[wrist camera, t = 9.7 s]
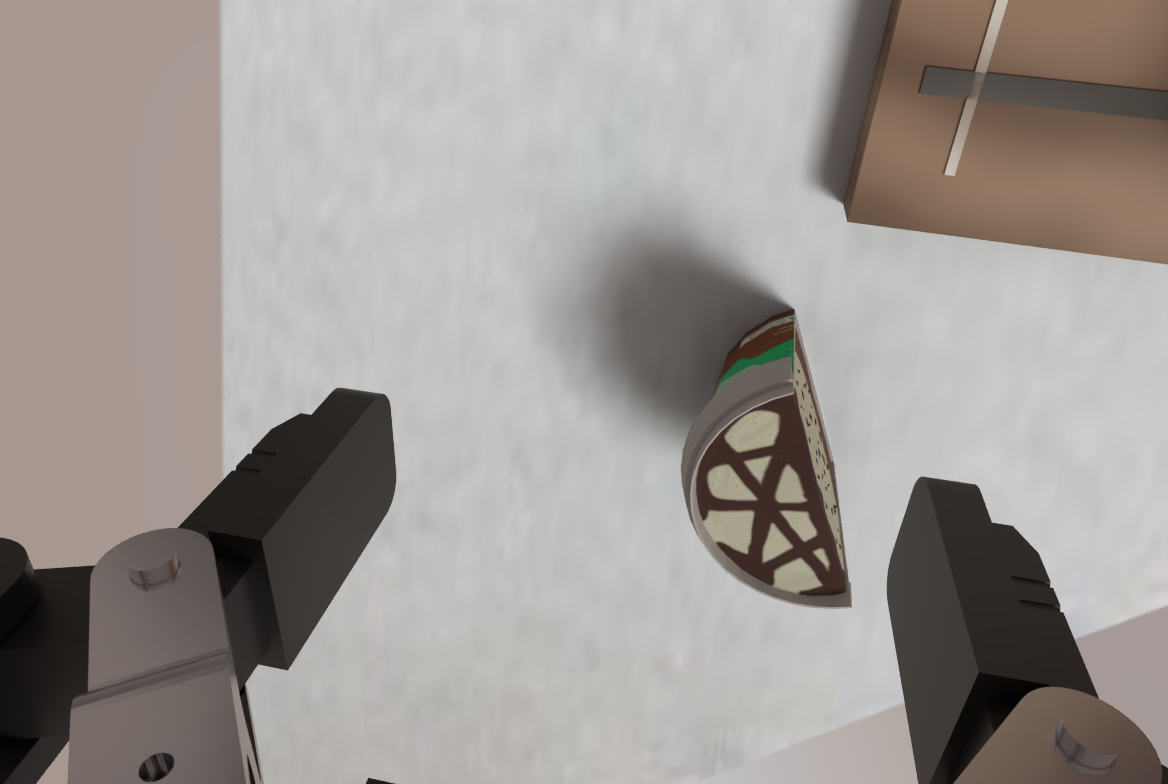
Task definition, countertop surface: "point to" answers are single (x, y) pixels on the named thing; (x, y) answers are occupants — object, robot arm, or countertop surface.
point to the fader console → (1020, 125)
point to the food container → (768, 474)
